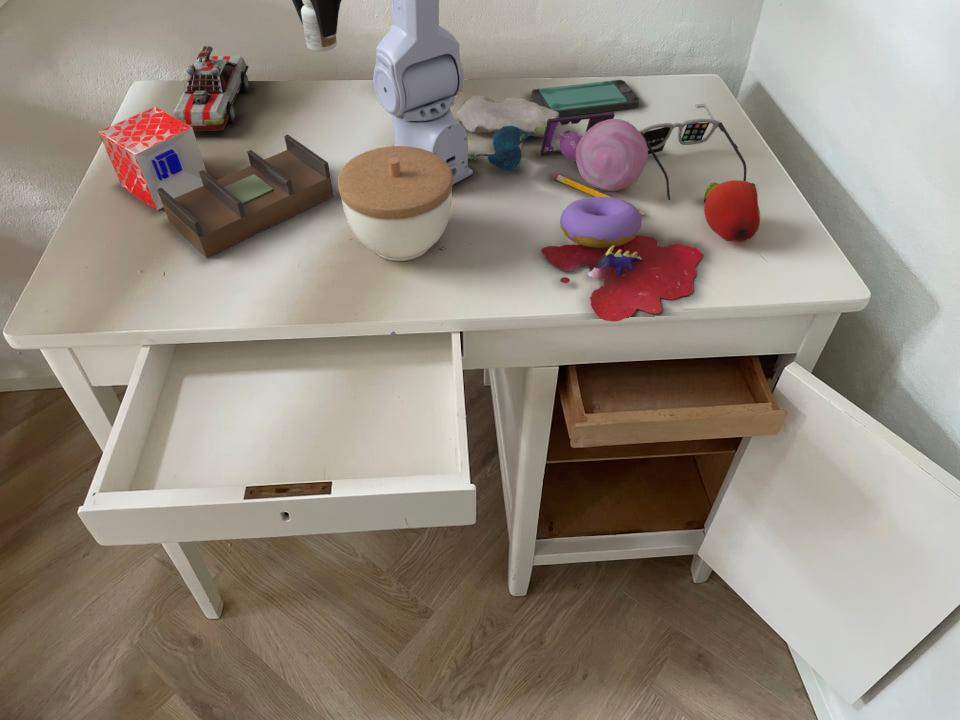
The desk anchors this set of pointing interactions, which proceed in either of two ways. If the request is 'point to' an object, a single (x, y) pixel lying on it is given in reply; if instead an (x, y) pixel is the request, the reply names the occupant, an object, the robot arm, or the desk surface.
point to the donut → (600, 222)
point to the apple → (732, 209)
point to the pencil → (582, 187)
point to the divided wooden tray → (249, 198)
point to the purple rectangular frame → (569, 133)
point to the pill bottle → (315, 30)
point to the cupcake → (611, 155)
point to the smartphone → (587, 98)
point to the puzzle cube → (154, 155)
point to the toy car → (211, 91)
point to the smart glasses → (684, 137)
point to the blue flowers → (508, 146)
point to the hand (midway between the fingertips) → (319, 29)
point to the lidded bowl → (397, 200)
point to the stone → (503, 115)
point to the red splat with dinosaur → (630, 274)
